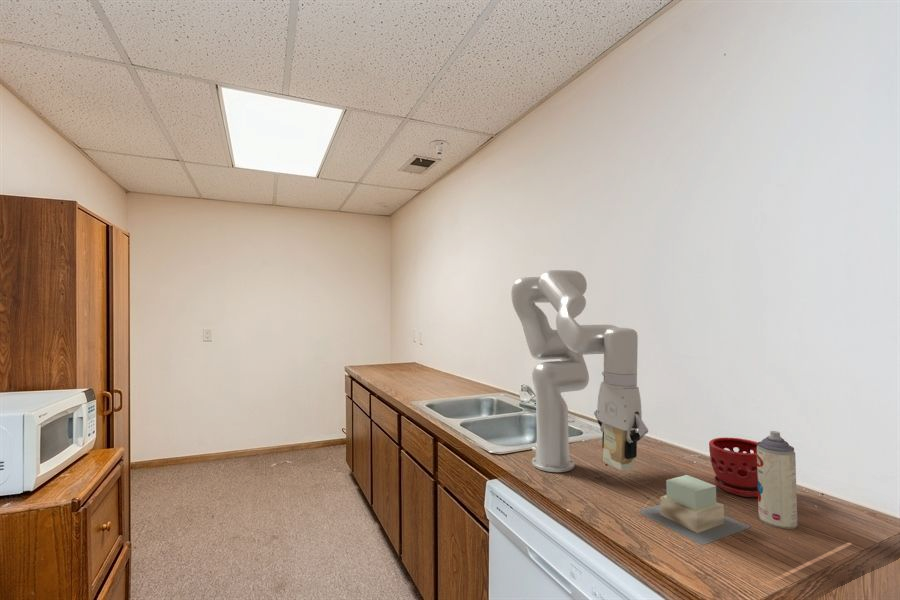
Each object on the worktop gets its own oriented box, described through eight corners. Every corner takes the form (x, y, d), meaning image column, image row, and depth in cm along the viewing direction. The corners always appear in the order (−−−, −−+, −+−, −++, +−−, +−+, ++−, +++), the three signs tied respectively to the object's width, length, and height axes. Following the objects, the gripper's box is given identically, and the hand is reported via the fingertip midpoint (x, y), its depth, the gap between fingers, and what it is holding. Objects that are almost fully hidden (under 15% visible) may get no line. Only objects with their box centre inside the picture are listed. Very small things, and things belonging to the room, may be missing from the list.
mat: (636, 512, 99) (636, 511, 99) (682, 499, 106) (682, 497, 106) (702, 547, 85) (702, 545, 85) (751, 528, 91) (750, 527, 91)
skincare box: (602, 461, 105) (602, 412, 105) (615, 458, 107) (616, 410, 106) (622, 471, 99) (623, 419, 99) (636, 468, 101) (636, 417, 100)
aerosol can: (760, 512, 99) (757, 426, 99) (798, 521, 94) (795, 431, 95) (757, 523, 94) (754, 432, 94) (797, 534, 89) (794, 438, 89)
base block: (660, 514, 97) (659, 496, 98) (686, 506, 101) (685, 489, 101) (697, 532, 89) (696, 513, 89) (724, 523, 93) (723, 505, 93)
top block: (666, 497, 97) (666, 480, 97) (687, 491, 100) (686, 474, 100) (695, 510, 91) (695, 491, 91) (716, 504, 94) (715, 485, 94)
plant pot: (707, 477, 120) (706, 434, 120) (764, 485, 114) (763, 440, 114) (713, 495, 108) (711, 448, 108) (777, 505, 102) (775, 455, 102)
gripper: (582, 373, 109) (581, 443, 109) (638, 388, 93) (637, 469, 93) (604, 371, 112) (603, 439, 112) (662, 385, 96) (660, 463, 97)
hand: (619, 452), depth 103 cm, fingers closed on skincare box, 6 cm apart
